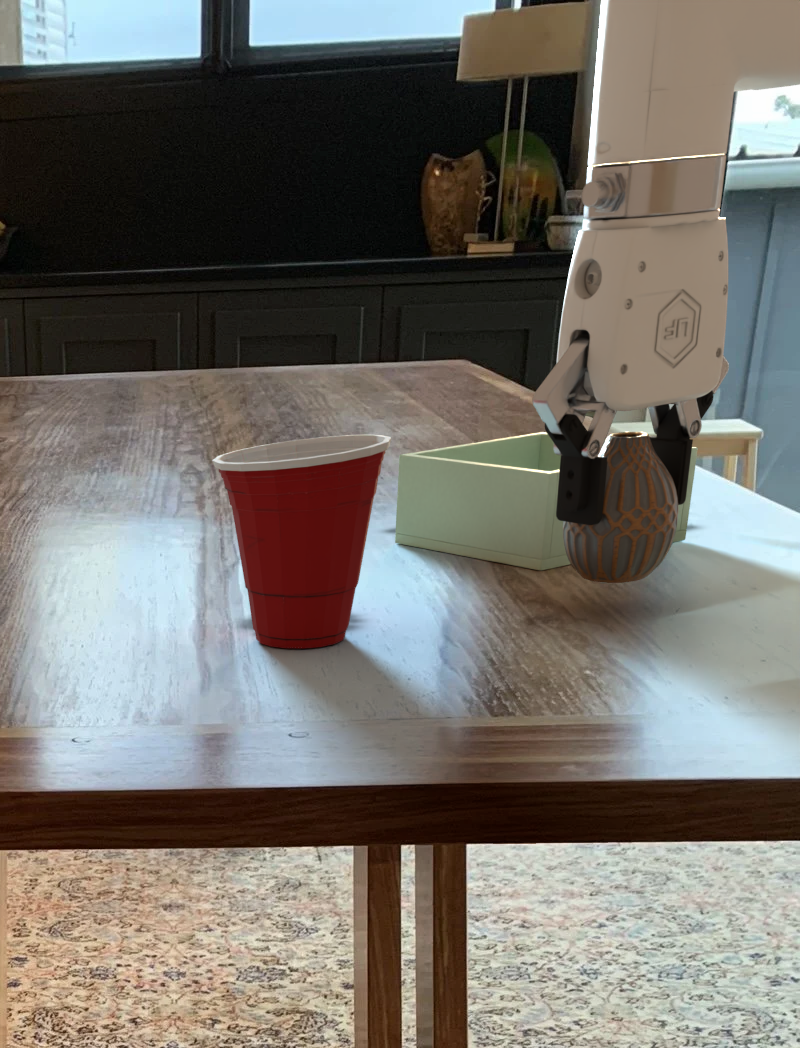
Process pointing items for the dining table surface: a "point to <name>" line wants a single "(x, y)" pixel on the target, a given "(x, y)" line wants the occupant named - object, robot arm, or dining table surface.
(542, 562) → the tub
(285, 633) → the plastic cup
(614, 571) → the vase
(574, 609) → the dining table surface
